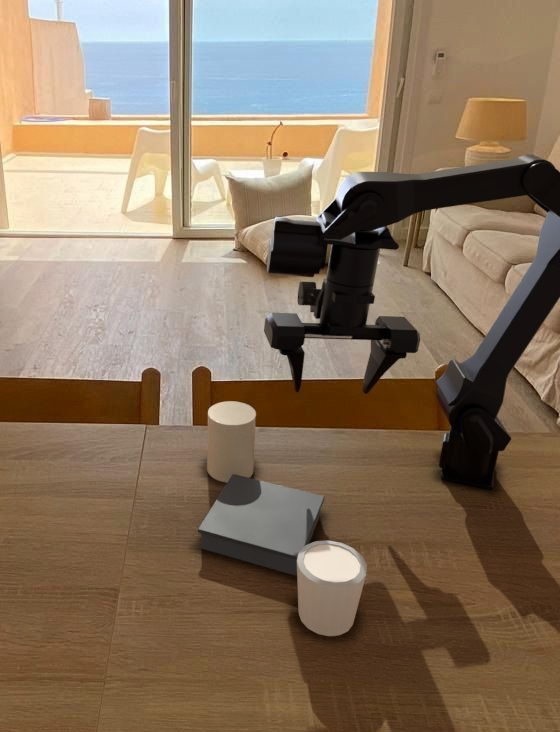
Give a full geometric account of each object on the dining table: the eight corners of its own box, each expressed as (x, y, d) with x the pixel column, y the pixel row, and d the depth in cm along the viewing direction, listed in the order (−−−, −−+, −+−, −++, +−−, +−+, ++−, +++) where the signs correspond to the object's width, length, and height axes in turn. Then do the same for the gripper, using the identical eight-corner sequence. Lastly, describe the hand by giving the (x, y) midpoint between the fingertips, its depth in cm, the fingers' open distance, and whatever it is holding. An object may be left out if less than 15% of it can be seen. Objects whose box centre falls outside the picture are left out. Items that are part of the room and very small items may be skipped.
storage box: (322, 515, 87) (324, 495, 85) (298, 578, 77) (299, 557, 75) (232, 492, 91) (232, 473, 90) (197, 549, 81) (197, 529, 80)
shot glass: (355, 592, 75) (361, 541, 72) (364, 643, 68) (372, 589, 66) (290, 588, 75) (294, 537, 72) (294, 638, 69) (298, 584, 66)
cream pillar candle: (263, 470, 96) (266, 413, 92) (230, 488, 92) (232, 430, 88) (229, 451, 100) (231, 396, 96) (197, 468, 96) (197, 412, 92)
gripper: (400, 262, 93) (379, 366, 100) (263, 256, 91) (251, 363, 98) (433, 290, 83) (407, 404, 89) (279, 285, 81) (265, 401, 88)
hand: (330, 391), depth 92 cm, fingers open, 9 cm apart
